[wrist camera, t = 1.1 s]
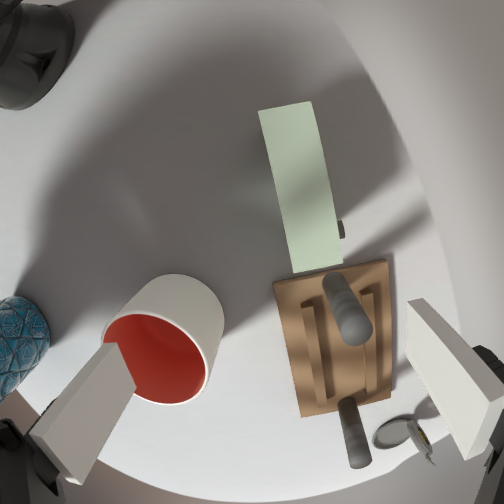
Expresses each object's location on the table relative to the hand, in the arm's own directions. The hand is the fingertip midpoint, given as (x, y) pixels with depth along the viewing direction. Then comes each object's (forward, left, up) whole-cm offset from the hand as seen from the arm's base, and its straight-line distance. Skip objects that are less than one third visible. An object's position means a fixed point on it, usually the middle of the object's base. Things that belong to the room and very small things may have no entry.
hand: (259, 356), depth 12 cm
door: (-6, +4, -19) cm, 20 cm away
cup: (+5, -11, -19) cm, 23 cm away
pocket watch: (+31, +14, -19) cm, 39 cm away
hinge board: (+13, +6, -19) cm, 24 cm away
